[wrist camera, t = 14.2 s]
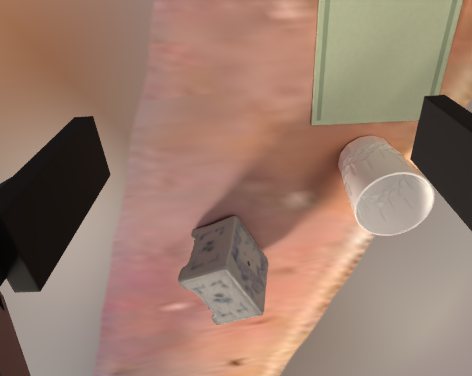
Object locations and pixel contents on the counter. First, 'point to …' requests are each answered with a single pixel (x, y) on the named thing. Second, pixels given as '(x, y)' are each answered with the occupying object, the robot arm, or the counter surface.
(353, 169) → the white cup
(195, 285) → the incense holder
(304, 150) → the counter surface
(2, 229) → the robot arm
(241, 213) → the counter surface
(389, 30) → the napkin
